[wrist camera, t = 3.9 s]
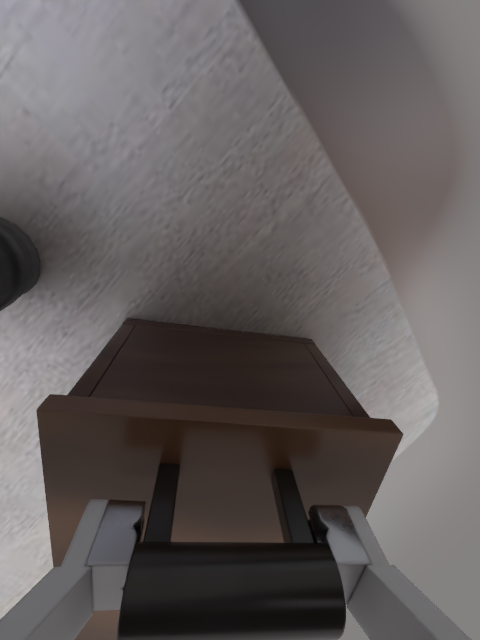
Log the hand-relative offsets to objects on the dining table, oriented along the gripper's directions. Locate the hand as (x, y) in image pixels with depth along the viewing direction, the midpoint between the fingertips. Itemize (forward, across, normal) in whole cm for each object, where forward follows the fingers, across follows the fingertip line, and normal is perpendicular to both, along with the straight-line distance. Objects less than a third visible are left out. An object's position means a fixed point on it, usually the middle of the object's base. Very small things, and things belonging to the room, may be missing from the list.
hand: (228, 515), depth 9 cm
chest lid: (+2, 0, +6) cm, 7 cm away
